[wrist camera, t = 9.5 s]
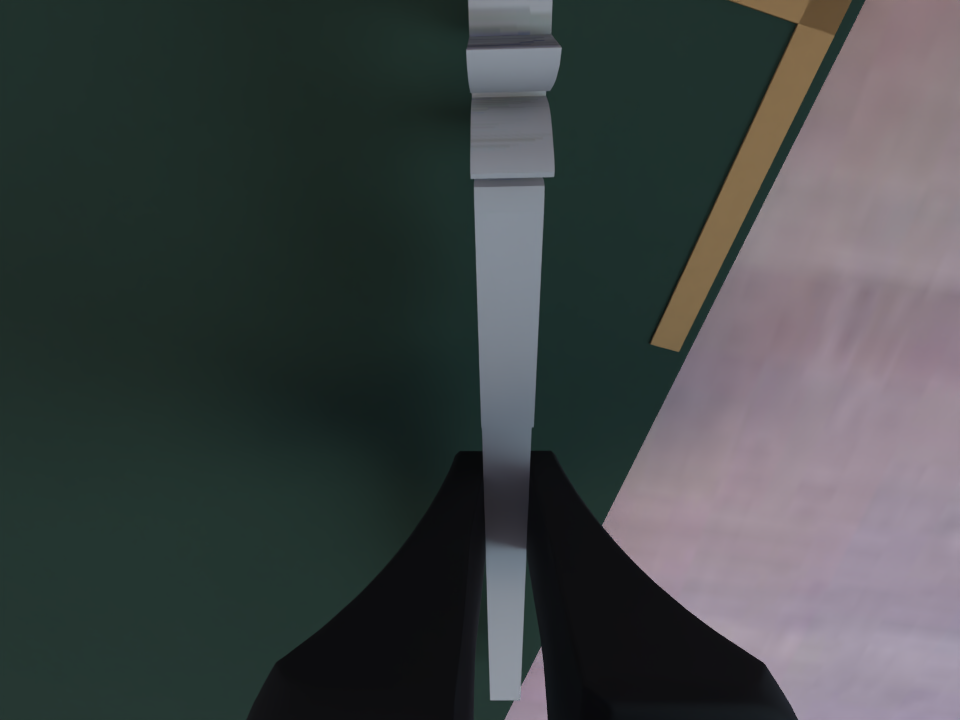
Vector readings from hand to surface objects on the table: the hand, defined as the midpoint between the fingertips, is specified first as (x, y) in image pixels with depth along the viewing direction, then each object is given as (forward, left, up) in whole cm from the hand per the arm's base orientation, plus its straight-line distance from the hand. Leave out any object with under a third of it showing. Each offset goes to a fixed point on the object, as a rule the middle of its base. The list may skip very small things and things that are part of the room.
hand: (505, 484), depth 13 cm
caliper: (0, 0, -2) cm, 2 cm away
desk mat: (+6, -7, -3) cm, 10 cm away
